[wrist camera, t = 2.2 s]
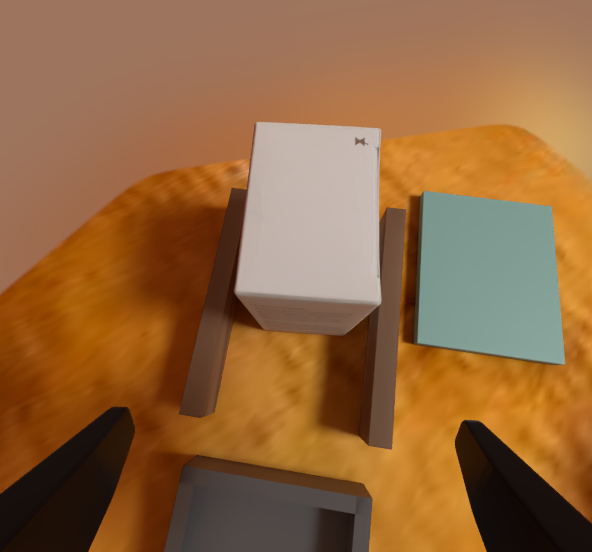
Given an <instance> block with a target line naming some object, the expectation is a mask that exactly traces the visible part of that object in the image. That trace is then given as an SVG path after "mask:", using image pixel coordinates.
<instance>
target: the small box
mask: <svg viewBox="0 0 592 552" xmlns="http://www.w3.org/2000/svg"><path fill="white" fill-rule="evenodd" d="M380 141H381V130H380V129H379V128H365V127H348V126H329V125H309V124H292V123H265V122H257V123H255V126H254V135H253V143H252V151H251V159H250V167H249V175H248V183H247V191H246V200H245V207H244V215H243V224H242V232H241V240H240V247H239V255H238V263H237V272H236V280H235V287H234V293H235V295H236V296H237V297H238V299H239V300H240V301H241V302H242V303H243V305H244V306H245V307H246V308H247V310H248V311H249V312H250V313H251V315H252V316H253V317H254V318H255V320H256V321H257V322H258V323H259V324H260V326H261V327H262V328H263V329H264V330H269V331H280V332H293V333H308V334H321V335H338V336H344V335H345V334H346V333H347V332H349V331H350V330H351V329H352V328H353V327H355V326H356V325H357V324H358V323H359V322H360V321H362V320H363V319H364V318H365V317H366V316H367V315H369V314H370V313H371V312H372V311H373V310H374V309H375V308H377V307H378V306H379V305H380V304H381V285H380V265H379V158H380Z"/></svg>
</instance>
